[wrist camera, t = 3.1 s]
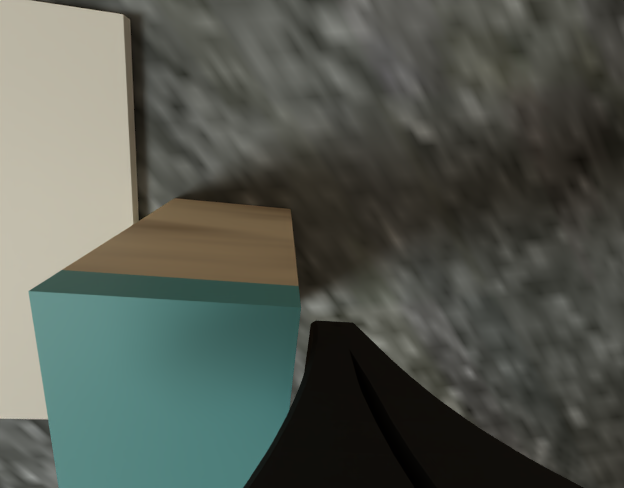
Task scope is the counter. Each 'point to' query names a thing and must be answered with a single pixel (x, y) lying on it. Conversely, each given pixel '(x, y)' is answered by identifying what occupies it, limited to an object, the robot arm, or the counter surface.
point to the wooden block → (171, 348)
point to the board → (57, 164)
